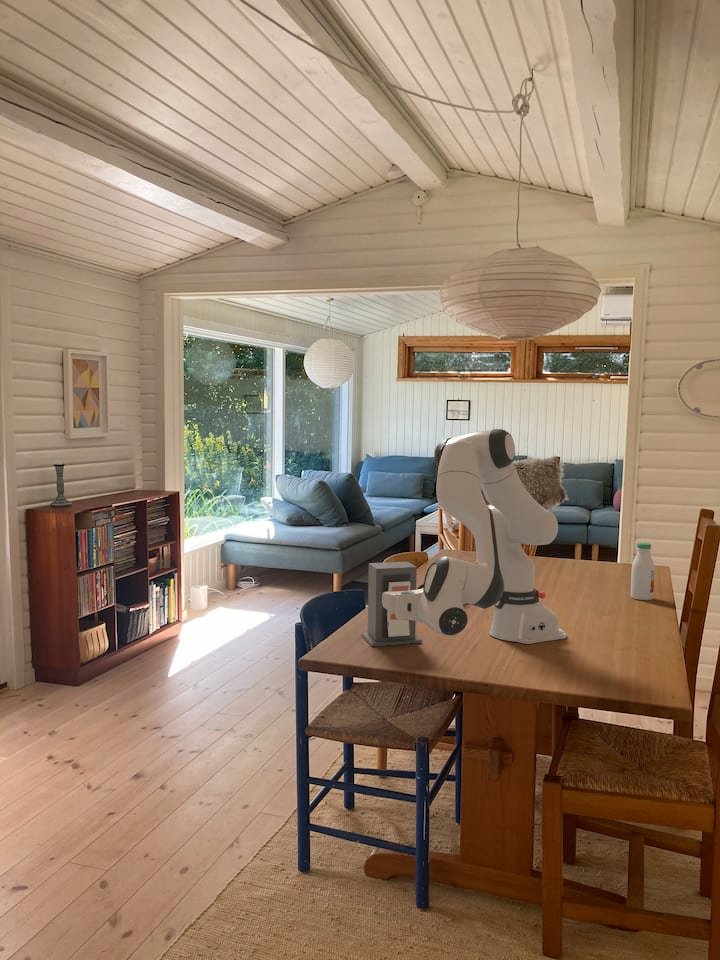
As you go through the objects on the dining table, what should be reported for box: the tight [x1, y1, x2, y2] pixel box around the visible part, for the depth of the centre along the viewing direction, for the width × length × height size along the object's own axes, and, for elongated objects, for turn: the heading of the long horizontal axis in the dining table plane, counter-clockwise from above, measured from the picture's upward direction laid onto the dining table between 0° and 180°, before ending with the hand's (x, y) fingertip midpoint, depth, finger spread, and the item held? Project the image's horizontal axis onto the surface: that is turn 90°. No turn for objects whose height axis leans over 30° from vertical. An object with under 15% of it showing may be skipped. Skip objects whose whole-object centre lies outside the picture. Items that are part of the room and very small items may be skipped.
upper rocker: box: [388, 581, 411, 592], centre depth 219 cm, size 6×1×7 cm, turn 105°
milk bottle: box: [630, 542, 655, 601], centre depth 279 cm, size 8×8×20 cm
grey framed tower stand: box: [361, 561, 423, 647], centre depth 225 cm, size 15×11×22 cm
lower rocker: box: [387, 611, 410, 637], centre depth 220 cm, size 6×1×7 cm, turn 105°
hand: (412, 592), depth 207 cm, fingers closed
